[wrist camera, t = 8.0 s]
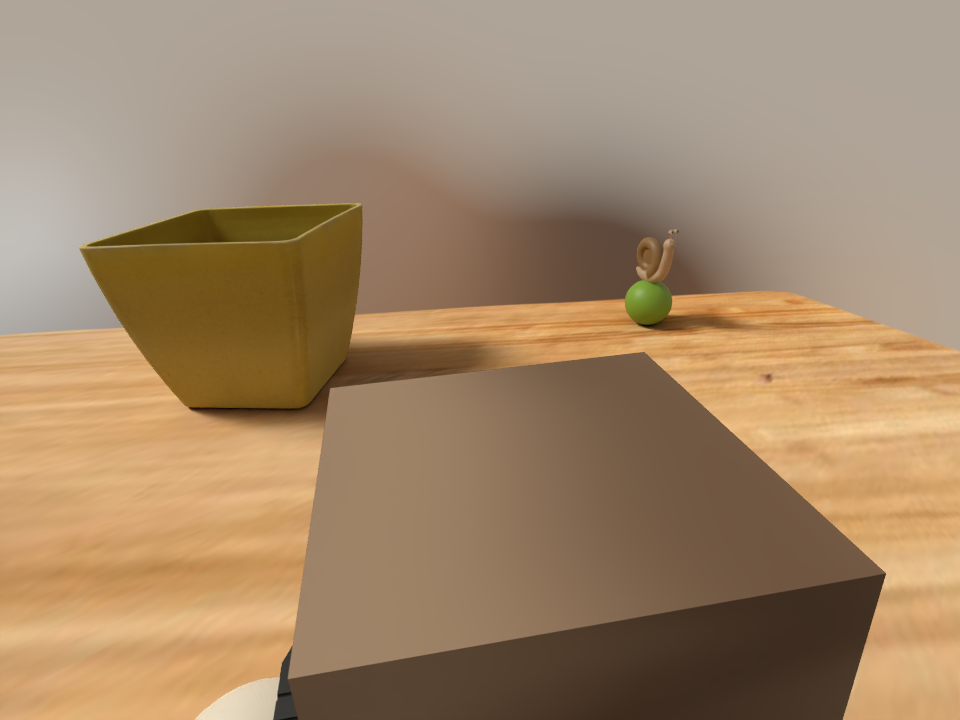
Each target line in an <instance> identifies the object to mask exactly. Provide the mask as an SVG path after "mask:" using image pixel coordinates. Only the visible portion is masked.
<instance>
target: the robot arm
mask: <svg viewBox="0 0 960 720" xmlns="http://www.w3.org/2000/svg"><path fill="white" fill-rule="evenodd" d="M292 646H293V645H292ZM291 653H292V647H291V649H290V651H289V652H288V654H287V656H286V657H285V659H284V661H283V662H282V667H281V673H280V679H279V686H278V692H277V701H276V705H275V711H274V717H273V720H298V717H297V713H296V709H295V705H294V701H293V698H292V694H291V690H290V686H289V682H288V674H289V667H290V660H291Z"/></svg>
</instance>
